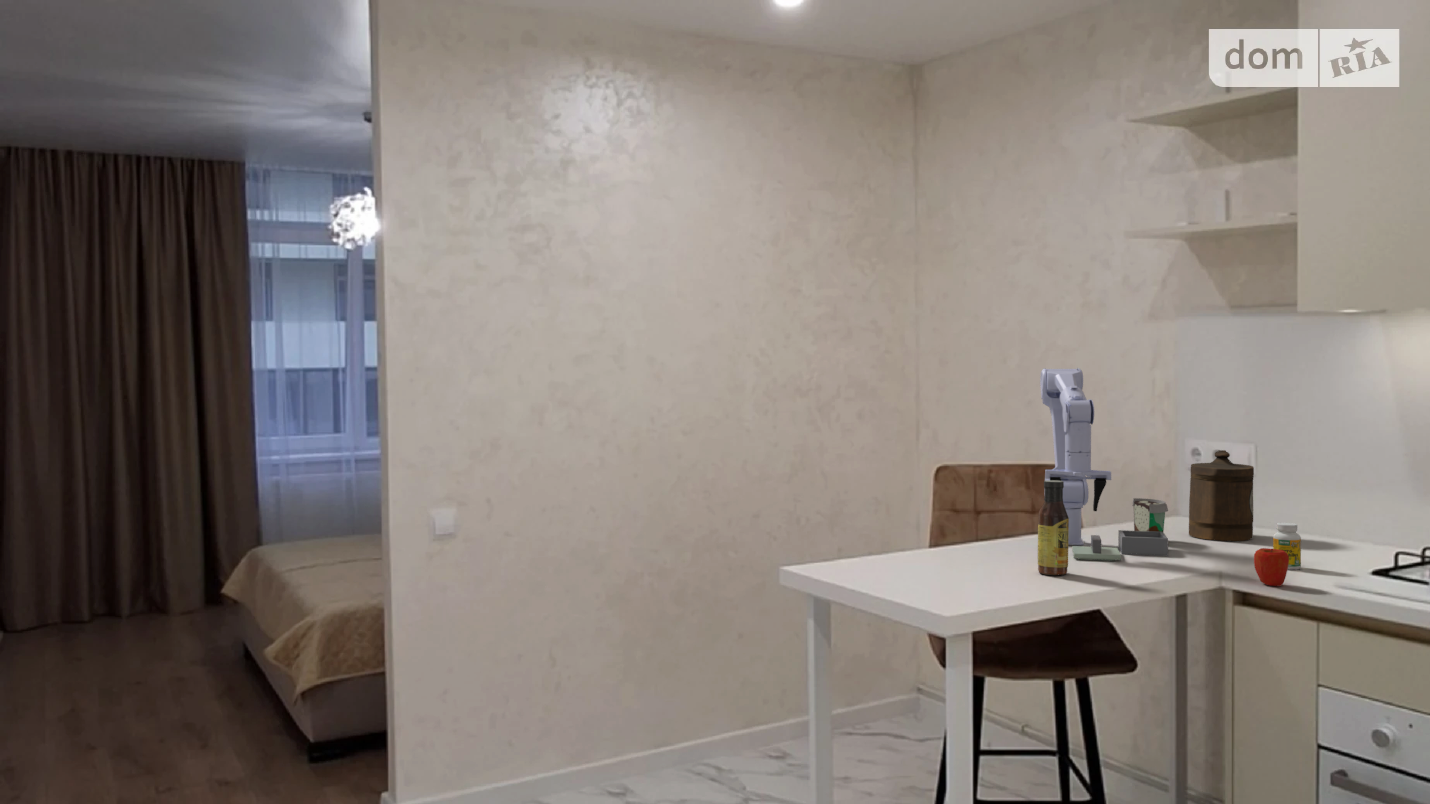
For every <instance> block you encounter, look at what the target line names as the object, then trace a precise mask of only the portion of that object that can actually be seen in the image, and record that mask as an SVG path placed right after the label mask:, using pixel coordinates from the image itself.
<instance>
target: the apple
mask: <svg viewBox="0 0 1430 804" xmlns="http://www.w3.org/2000/svg"><path fill="white" fill-rule="evenodd" d="M1288 564H1289V556H1288V554H1287V553H1286V552H1285V551H1283V550H1279V549H1273V548H1269V547H1267V548H1266V547H1263V548H1262V547H1261V548H1258V549H1257V550H1256V551H1255V553H1254V554H1253V566H1254V570H1255V572H1256V575H1257V577H1258V579H1259V581H1260V582H1261V583H1262V584H1264V585H1266V586H1270V587H1271V586H1272V587H1281V586H1282V585H1283V584H1284V583H1285V580H1286V577H1287V573H1288V570H1287V569H1288Z"/></svg>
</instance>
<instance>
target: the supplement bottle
mask: <svg viewBox="0 0 1430 804" xmlns="http://www.w3.org/2000/svg"><path fill="white" fill-rule="evenodd" d="M1276 530H1277V532H1275V533H1274V534H1273V536H1272V543H1273V545H1272V546H1273V547H1272V549H1279V550H1283V551H1285V552H1286V553H1287V554H1288V556H1289V564H1288V569H1287V571H1294V570H1295V571H1297V570H1300V569H1301V567H1302V537H1301V535H1300V534H1299V533H1297V532H1298V524H1297V523H1292V522H1277V523H1276Z"/></svg>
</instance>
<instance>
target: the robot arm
mask: <svg viewBox="0 0 1430 804" xmlns="http://www.w3.org/2000/svg"><path fill="white" fill-rule="evenodd" d="M1039 376H1040V377H1039V378H1040V380H1039V383H1040V385H1039V387H1040V396H1041V397H1040V398H1041V400H1042V401H1041V402H1042V405H1045V406H1047V407H1048V408H1049V411H1050V414H1051V415H1050V416H1051V425H1052V427H1051V428H1052V439H1053V441H1052V442H1053V453H1054V468H1052V469H1045V470H1044V471H1045V473H1044V481H1047V480H1058V481H1063V482H1064V487H1063V503H1064V506H1065V509H1066V512H1067V515H1068V518H1069V536H1068V546H1069V545H1070V546H1084V545H1085V543H1084V540H1083V538H1082V509H1083V508H1084V506H1086V505H1087V504H1088V503H1089V484H1088V481H1087V480H1093V501H1092V502H1093V504H1092V507H1093V508H1092V510H1093V512H1097V511H1098V507H1099V506H1098V505H1099V502H1100V498H1101V496H1102V493H1103V491H1104V489H1105V487H1106V486H1107V481H1112V471H1111V470H1098V469H1097V470H1095V469H1093V470H1092V426H1093V423H1094V420H1095V406H1094V401H1093V399H1087V397H1086V395H1085V392H1084V391H1083V387H1084V375H1083V371H1082V369H1081V368H1079V367H1077V368H1042V370H1041V371H1040V375H1039ZM1043 489H1044V492H1043V493H1044V496H1045V488H1044V487H1043Z"/></svg>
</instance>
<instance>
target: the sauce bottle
mask: <svg viewBox="0 0 1430 804" xmlns="http://www.w3.org/2000/svg"><path fill="white" fill-rule="evenodd" d="M1063 487H1064V482H1063V481H1058V480H1047V481H1045V480H1044V481H1043V489H1044V488H1045V495H1044V499H1043V501H1044V502H1043V504H1042V506H1041V507H1040V509H1039V511H1038V523H1037V525H1038V526H1037V567H1038V568H1037V571H1038V573H1040V574H1041V575H1044V576H1045V575H1046V576H1063V575H1066V574H1067V573H1068V567H1069V545H1068V536H1069V518H1068V515H1067V512H1066V509H1065V506H1064V503H1063Z"/></svg>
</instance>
